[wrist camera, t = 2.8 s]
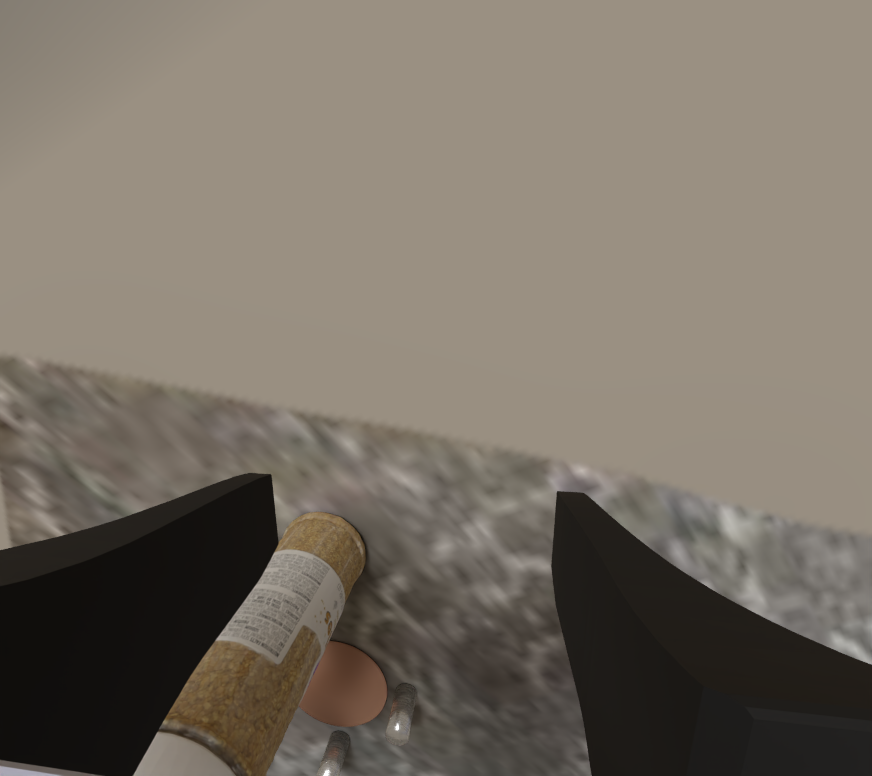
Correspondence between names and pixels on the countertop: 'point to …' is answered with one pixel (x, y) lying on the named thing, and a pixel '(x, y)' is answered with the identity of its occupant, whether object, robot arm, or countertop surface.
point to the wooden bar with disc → (345, 687)
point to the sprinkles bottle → (261, 658)
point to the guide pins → (394, 733)
